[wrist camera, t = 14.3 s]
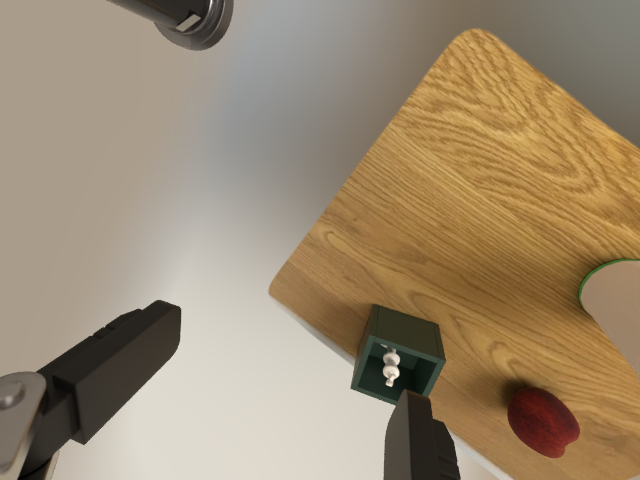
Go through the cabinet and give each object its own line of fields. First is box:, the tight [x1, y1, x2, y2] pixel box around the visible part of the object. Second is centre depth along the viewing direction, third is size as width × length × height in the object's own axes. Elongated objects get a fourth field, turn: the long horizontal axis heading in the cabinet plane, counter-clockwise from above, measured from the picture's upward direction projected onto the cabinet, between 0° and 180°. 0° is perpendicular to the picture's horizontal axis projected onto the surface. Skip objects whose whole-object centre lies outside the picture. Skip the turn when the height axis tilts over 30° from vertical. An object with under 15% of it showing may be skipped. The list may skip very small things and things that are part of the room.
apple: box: [507, 387, 580, 458], centre depth 39 cm, size 7×8×8 cm
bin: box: [351, 304, 446, 405], centre depth 42 cm, size 10×10×8 cm
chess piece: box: [381, 344, 400, 387], centre depth 40 cm, size 5×5×10 cm
